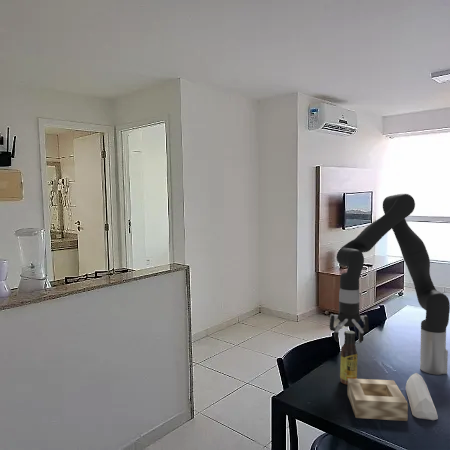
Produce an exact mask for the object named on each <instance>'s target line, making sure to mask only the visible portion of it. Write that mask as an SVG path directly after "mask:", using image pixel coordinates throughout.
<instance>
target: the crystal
mask: <svg viewBox="0 0 450 450" xmlns="http://www.w3.org/2000/svg"><path fill="white" fill-rule="evenodd" d="M405 383H406V384H405V392H406V395H407V398H408V402H409V406H410V410H411V413H412V416H413V417H415V418H417V419H423V420H429V421H435V420H438V419H439V417H438V411H437V409H436V407H435V403H434V401H433V399H432V397H431V393H430V391H429V389H428V385H427V383H426V382H425V379H424V378H423V376H422V375H420V374H419V373H418V372H415V373H413V374H411V375H410V376H409V378H408V379H407V381H406V382H405Z"/></svg>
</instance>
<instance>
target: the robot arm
mask: <svg viewBox="0 0 450 450" xmlns="http://www.w3.org/2000/svg"><path fill="white" fill-rule="evenodd" d="M415 207H416V202H415V199H414V197H413V196H412V195H410V194H409V193H397V194H393V195H388V196H386V197H385V198H384V199H383V201H382V210H383V212H384V213H383V215H382V216H381V217H379V218H377V220H374V221H373V222H371V223H370V224H368V225H367V226H366V227H365V228H364V229H363V230H361V232H360V233H359V234H358V235H357V236H356V237H355V238H354V239H352V240H351V241H349V242H347V243H346V244H344V245H342V246H341V247H340V249H339V250H338V251H337V253H336V261H337V263H338V264H339V265H341V266H343V267H347V270H346V272H343V273H341V274H340V277H339V293H338V294H339V295H338V297H339V298H338V314H333V313H330V315H329V330H330V331H333V335H334V336H333V337H334V338H333V339H334V340H335V341H336V342H337V343H338V342H339V341H340V339H339V338H340V337H339V336H340V335H339V331H340V330H341V329H343V327H345V328H347V327H348V328H349V327H350V328H355V327H356V328H357V330H358V343H360V344H361V343H362V342H363V341H364V334H365V333H368V332H369V330H370V329H369V327H370V326H369V317H368V315H367V314H364V315H360V306H361V305H360V302H361V296H360V277H361V275H362V271H363V268H364V264H365V256H364V254H363V253H368V252H370V251H371V250H372V249H373V248H374V247H375V245H376V244H378V242H379V241H380V240H381V239H383V238H384V236H385V235H386V234H388V232H390V231H391V230H392V231H393V234H394V236H395V239H396V241H397V244H398V246H399V249H400V252H401V255H402V258H403V260H404V262H405V265H406V267H407V270H408V272H409V275H410V278H411V280H412V282H413V285H414V289H415V293H416V297H417V302H418V304H419V306H420V307H421V308H422V309H423V310H425V319H422V320H421V322H420V349H419V351H420V356H419V357H420V358H419V359H420V360H419V365H420V366H419V369H420V370H421V371H422V372H424V373H426V374H429V375H437V376H441V375H445V374H447V375H448V358H449V357H448V355H449V354H448V353H449V351H448V349H447V328H448V325H449V321H450V300H449V297H448V296H447V294H444V293H443V292H440V291H438V290H437V289H436V287H435V285H434V283H433V280H432V278H431V273H430V271H431V269H430V267H431V260H430V256H429V253H428V249H427V247H426V244H425V243H424V242H423V239H421V237H420V236H418V235H417V233H416V232H414V231H413V229H412V228H411V227H410V226H409V224H408V221H407V220H406V218H408V217H409V216H410V215H411V214H412V213H413V212H414V210H415ZM337 319H338V321H339V322H338V323H336V326H335V321H336V320H337ZM360 320H361V321H362V322H363V327H362V326H361V325H360V324H359V322H360Z"/></svg>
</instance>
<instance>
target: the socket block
mask: <svg viewBox="0 0 450 450" xmlns="http://www.w3.org/2000/svg"><path fill="white" fill-rule="evenodd" d="M347 398H348V399H349V403H350V405H351V408H352V411H353V414H354V416H355V418H356V419H366V420H367V419H368V420H369V419H371V420H385V421H386V420H387V421H398V422H399V421H400V422H401V421H403V422H408V417H409V416H408V414H409V412H408V409H409V408H408V405H409V404H408V402H409V401H407V399H406V398H405V396H404V394H403V392H402V391H401V390H400V388H399V386H398V385H397V383H396V382H395V380H394V379H388V380H387V379H371V378H370V379H367V378H357V379H352V378H348V385H347Z"/></svg>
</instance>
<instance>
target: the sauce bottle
mask: <svg viewBox="0 0 450 450" xmlns="http://www.w3.org/2000/svg"><path fill="white" fill-rule="evenodd" d="M343 335H344V341H343V342H344V343H343V345H342V346H341V348H340V349H341V350H340V366H339V367H340V368H339V369H340V370H339V371H340V372H339V377H340V378H339V381H340V383H342V384H343V385H346V386H348V378H352V379H358V356H359V354H358V352H357V348H356V342H355V337H356V332H355V331H353V330H345V331H344V333H343Z"/></svg>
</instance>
